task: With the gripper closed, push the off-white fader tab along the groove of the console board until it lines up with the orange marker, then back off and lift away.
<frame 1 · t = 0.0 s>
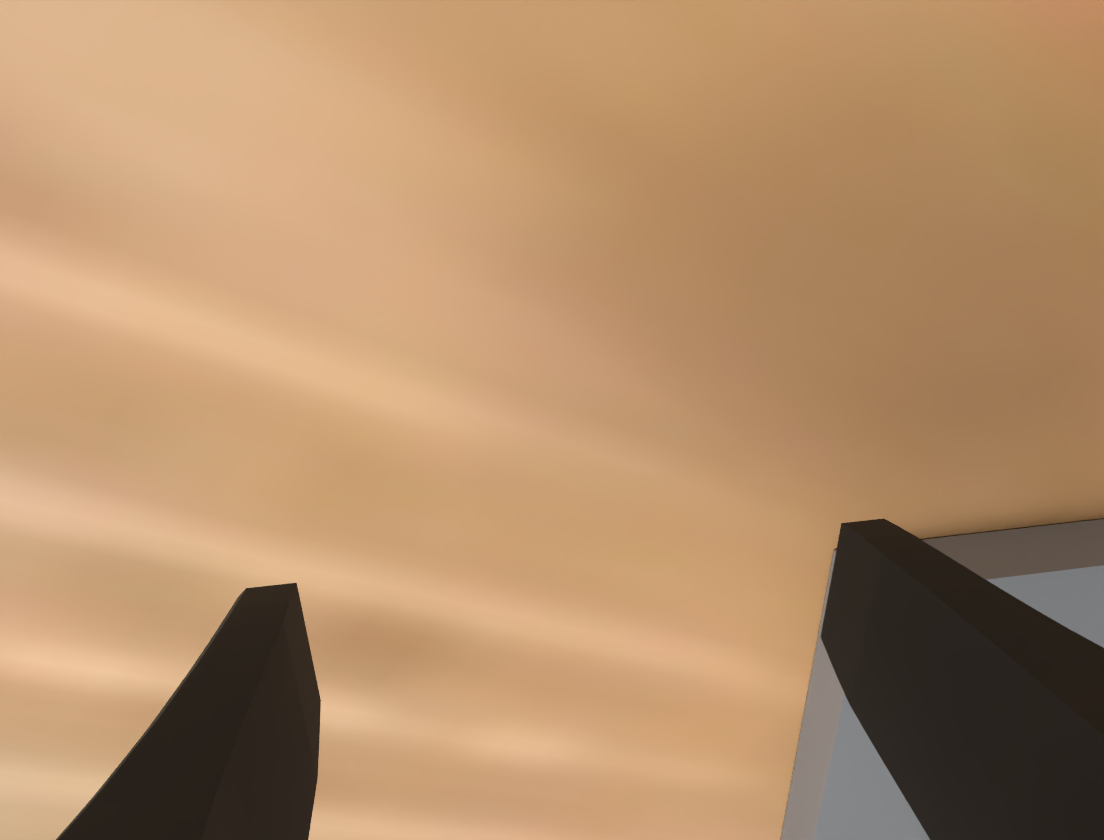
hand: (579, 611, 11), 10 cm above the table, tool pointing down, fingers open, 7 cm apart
console: (969, 732, 30), on the table
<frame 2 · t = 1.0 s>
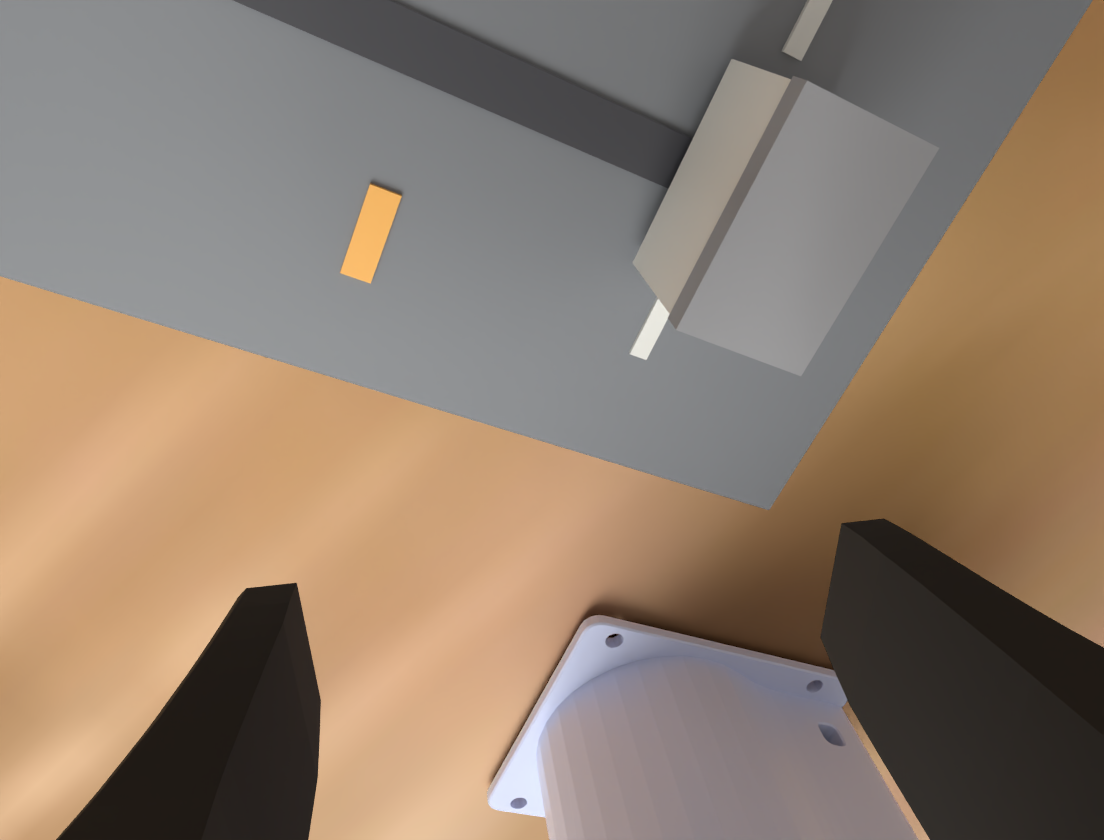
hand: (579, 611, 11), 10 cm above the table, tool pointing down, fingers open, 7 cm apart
fader tab: (765, 213, 15), point 4 cm above the table, slide at 1.0 cm
console: (524, 84, 17), on the table
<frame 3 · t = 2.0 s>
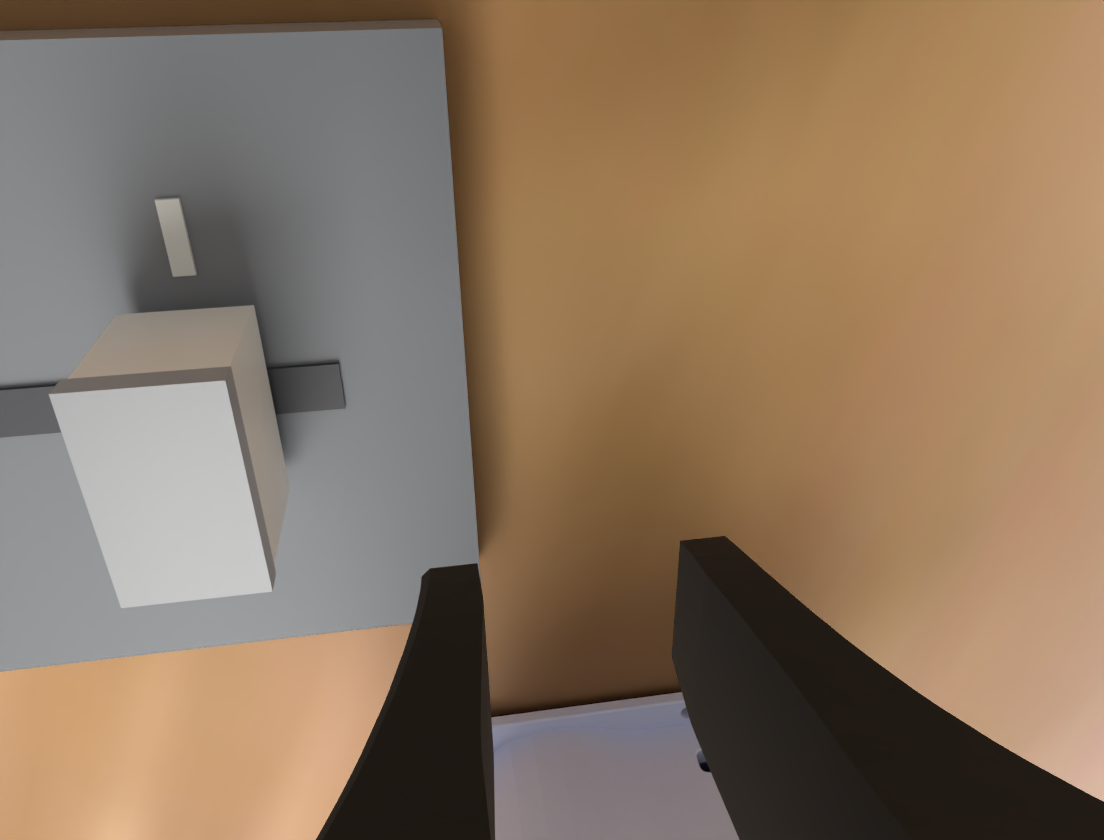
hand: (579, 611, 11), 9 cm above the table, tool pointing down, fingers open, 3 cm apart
fader tab: (191, 449, 15), point 4 cm above the table, slide at 1.0 cm
console: (35, 367, 18), on the table
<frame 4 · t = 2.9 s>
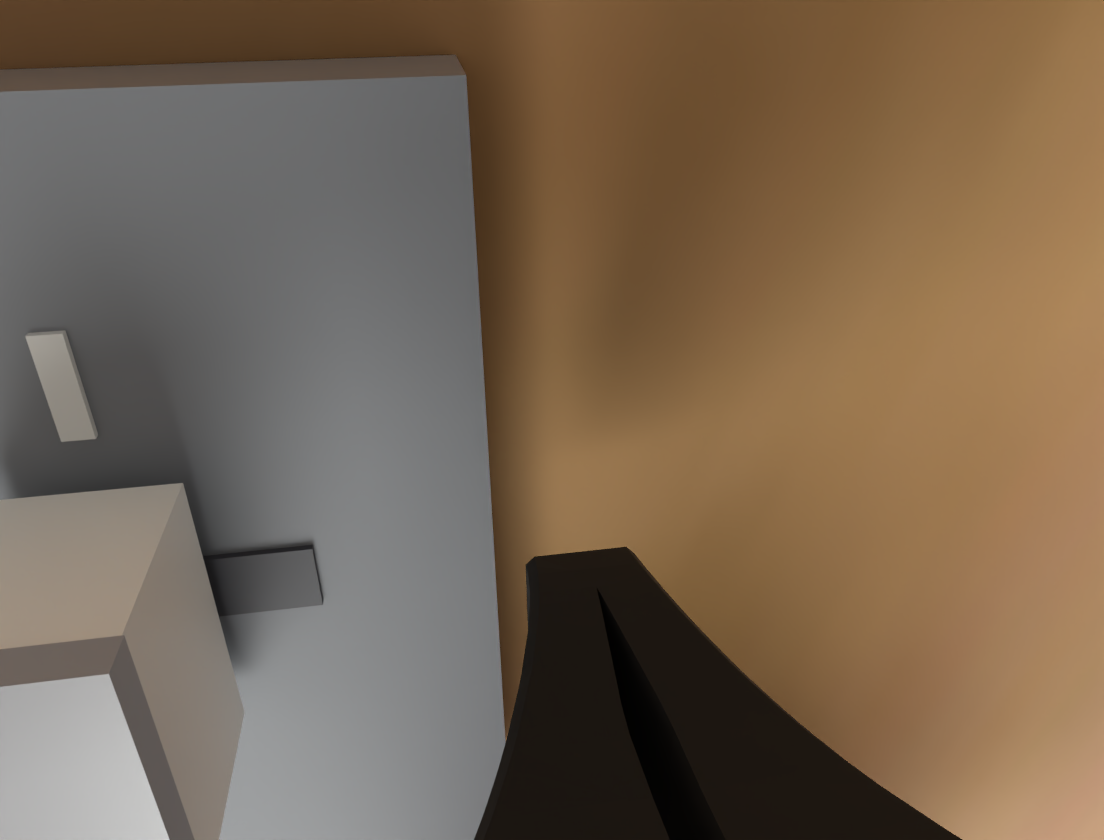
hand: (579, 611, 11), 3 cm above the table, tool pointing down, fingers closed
fader tab: (83, 712, 10), point 4 cm above the table, slide at 1.0 cm
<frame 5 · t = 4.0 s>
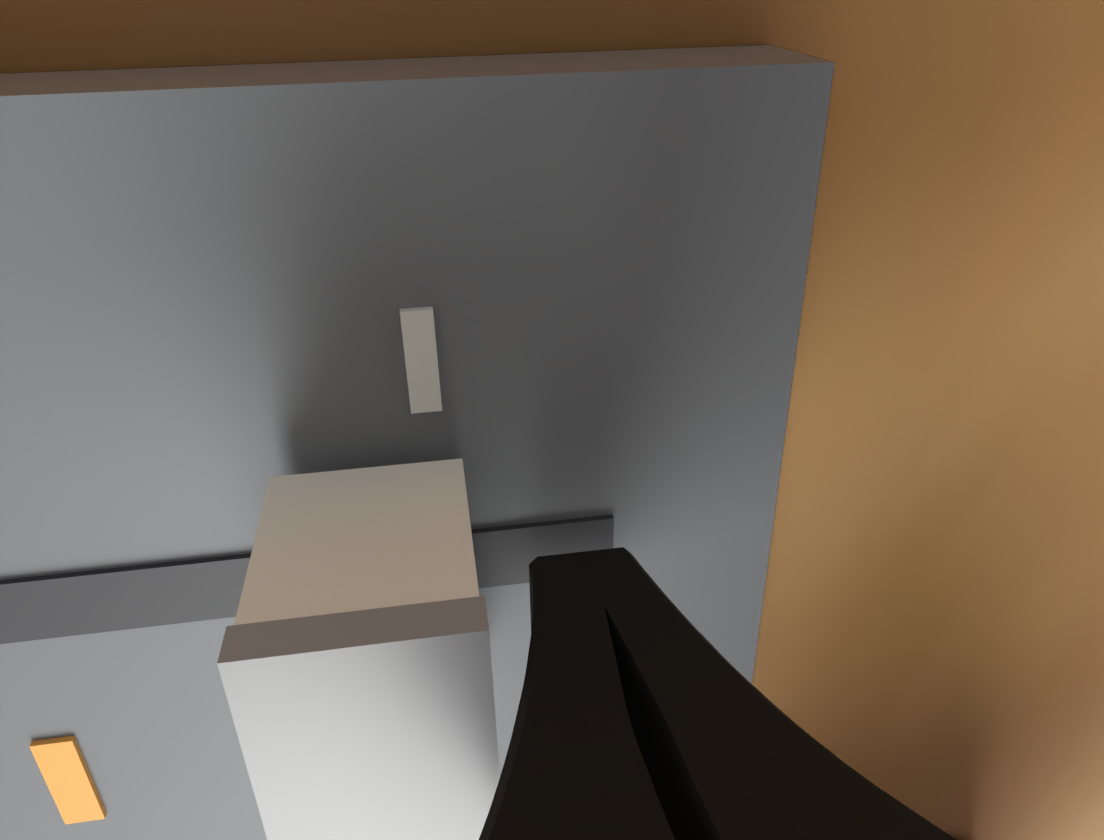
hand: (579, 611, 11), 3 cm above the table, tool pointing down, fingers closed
fader tab: (383, 677, 10), point 4 cm above the table, slide at 1.8 cm, touching gripper
console: (183, 510, 14), on the table
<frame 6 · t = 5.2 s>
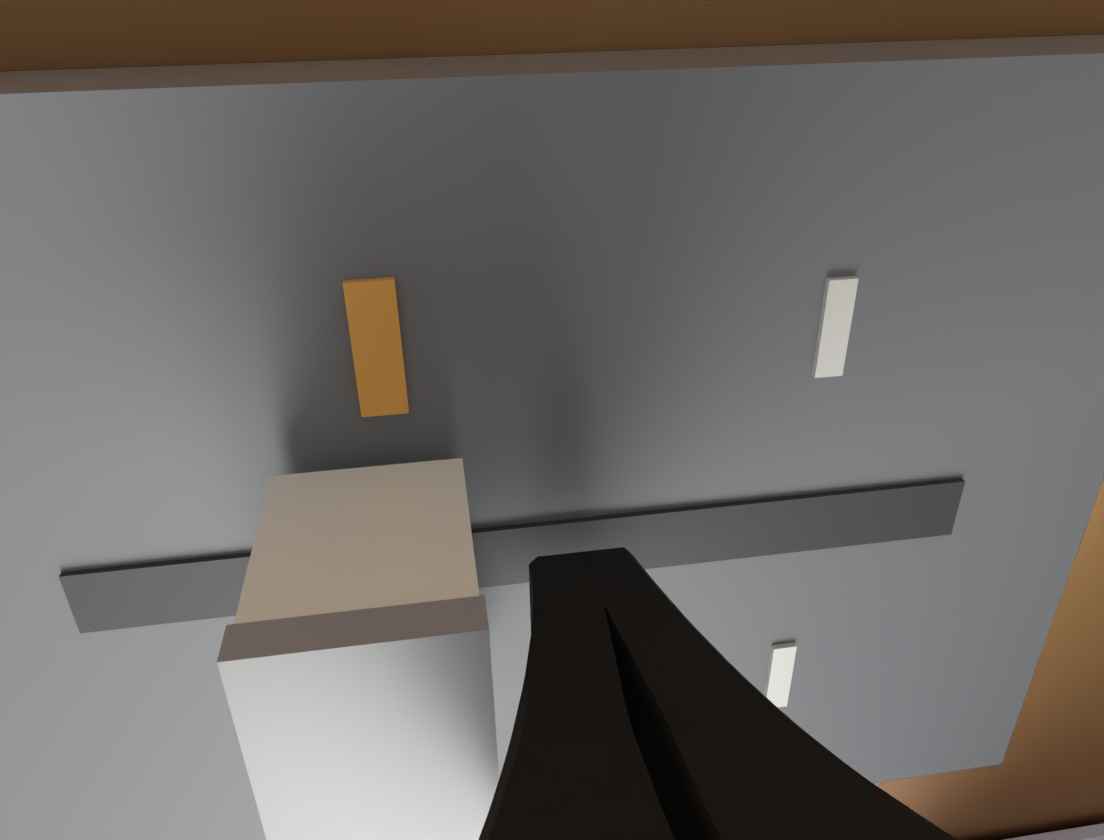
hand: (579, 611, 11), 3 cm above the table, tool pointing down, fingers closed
fader tab: (382, 676, 10), point 4 cm above the table, slide at 7.3 cm, touching gripper
console: (525, 476, 14), on the table
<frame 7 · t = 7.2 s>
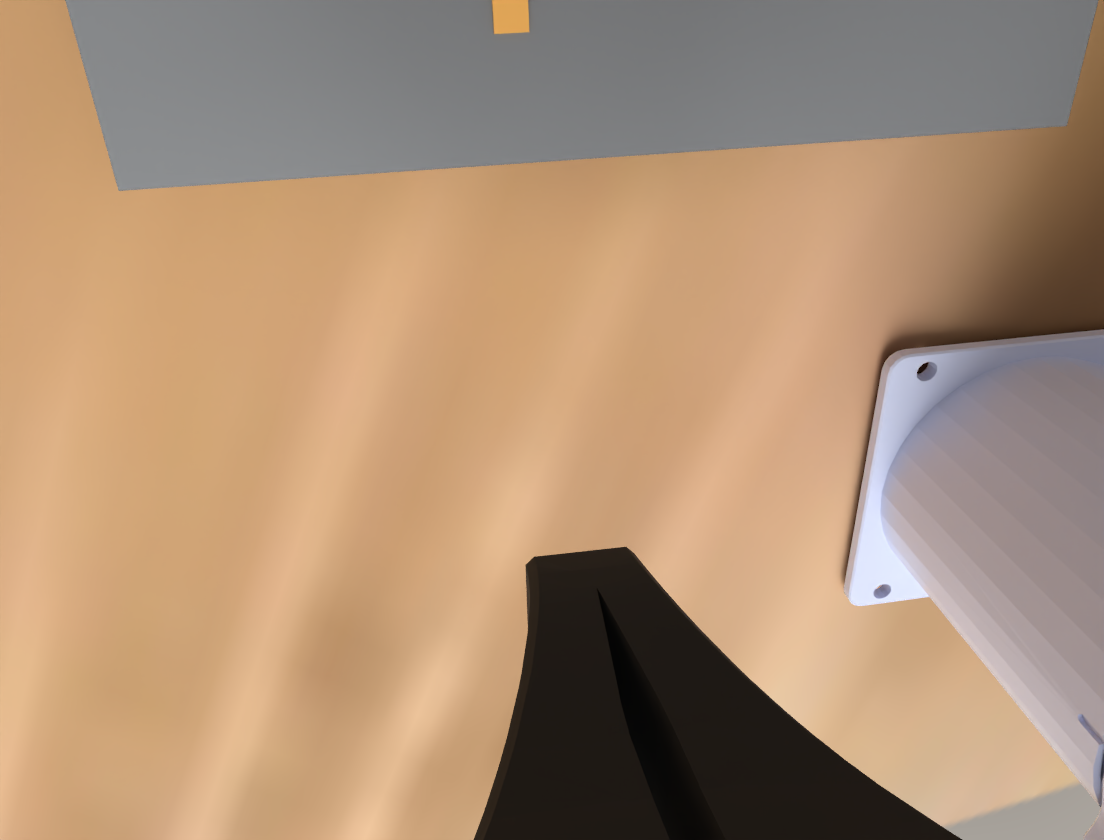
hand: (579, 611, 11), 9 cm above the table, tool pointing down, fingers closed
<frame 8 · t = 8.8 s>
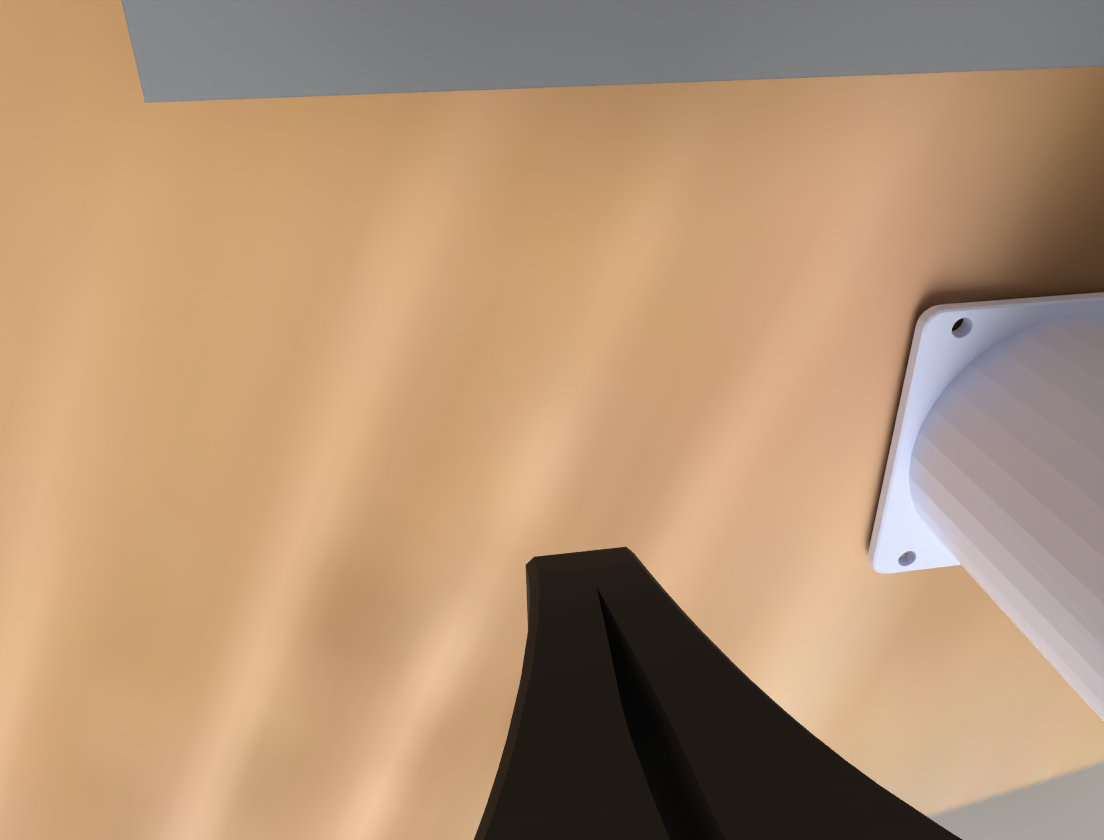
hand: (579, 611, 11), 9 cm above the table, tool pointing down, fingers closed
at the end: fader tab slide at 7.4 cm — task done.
